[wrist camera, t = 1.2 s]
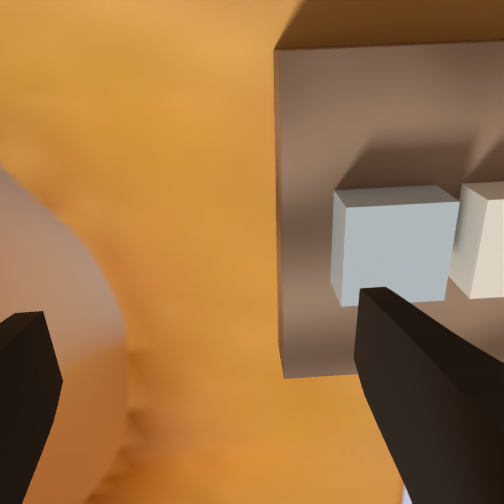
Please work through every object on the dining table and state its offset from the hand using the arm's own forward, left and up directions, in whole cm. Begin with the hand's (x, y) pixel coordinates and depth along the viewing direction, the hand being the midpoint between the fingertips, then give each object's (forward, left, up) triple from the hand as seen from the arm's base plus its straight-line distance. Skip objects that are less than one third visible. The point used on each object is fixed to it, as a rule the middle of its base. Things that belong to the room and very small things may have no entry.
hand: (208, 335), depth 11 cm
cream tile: (-1, -12, -8) cm, 14 cm away
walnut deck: (-1, -9, -11) cm, 14 cm away
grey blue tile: (-1, -7, -8) cm, 11 cm away
